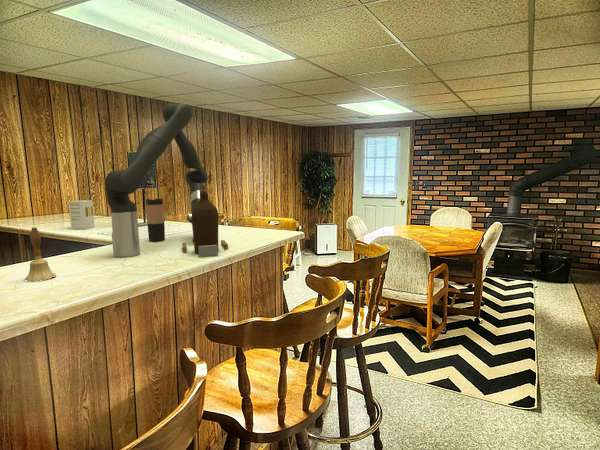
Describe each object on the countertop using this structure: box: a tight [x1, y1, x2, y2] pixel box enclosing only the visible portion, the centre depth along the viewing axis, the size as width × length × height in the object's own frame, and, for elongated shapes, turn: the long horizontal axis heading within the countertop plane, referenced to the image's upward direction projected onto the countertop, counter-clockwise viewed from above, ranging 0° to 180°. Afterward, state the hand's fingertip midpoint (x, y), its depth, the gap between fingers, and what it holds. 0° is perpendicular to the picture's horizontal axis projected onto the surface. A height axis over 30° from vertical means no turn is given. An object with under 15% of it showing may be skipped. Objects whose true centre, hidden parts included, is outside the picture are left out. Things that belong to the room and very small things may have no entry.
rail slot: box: [181, 239, 229, 254], centre depth 159 cm, size 18×12×2 cm, turn 109°
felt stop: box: [198, 245, 219, 258], centre depth 144 cm, size 7×2×4 cm, turn 109°
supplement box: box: [68, 199, 96, 230], centre depth 226 cm, size 10×9×17 cm
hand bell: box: [24, 226, 57, 282], centre depth 116 cm, size 8×8×16 cm
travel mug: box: [145, 198, 166, 243], centre depth 179 cm, size 8×8×20 cm
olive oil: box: [190, 189, 220, 255], centre depth 151 cm, size 11×11×25 cm
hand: (202, 232), depth 166 cm, fingers closed
